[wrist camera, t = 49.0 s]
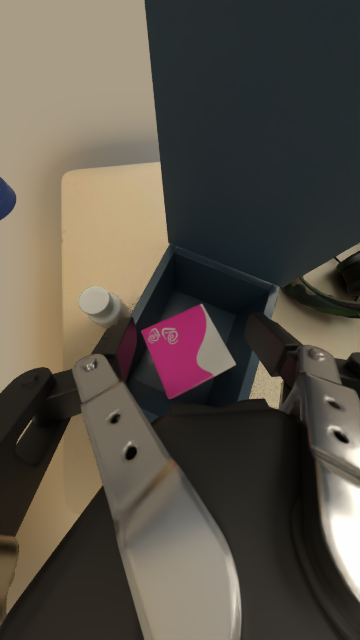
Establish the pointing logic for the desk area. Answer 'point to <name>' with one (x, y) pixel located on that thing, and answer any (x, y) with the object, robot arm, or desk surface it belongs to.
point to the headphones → (356, 273)
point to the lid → (259, 130)
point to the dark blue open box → (225, 313)
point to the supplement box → (187, 350)
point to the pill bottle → (102, 306)
